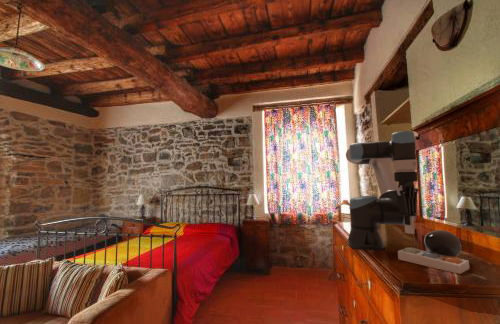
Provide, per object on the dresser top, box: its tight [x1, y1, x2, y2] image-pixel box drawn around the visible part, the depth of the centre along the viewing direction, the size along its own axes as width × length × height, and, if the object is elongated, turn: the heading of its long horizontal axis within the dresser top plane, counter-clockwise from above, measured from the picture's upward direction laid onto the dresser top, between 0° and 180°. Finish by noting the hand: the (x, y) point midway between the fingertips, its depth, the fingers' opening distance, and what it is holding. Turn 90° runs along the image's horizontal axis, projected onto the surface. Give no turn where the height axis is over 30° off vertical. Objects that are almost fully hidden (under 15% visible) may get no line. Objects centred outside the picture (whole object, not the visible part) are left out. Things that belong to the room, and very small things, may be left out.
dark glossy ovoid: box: [423, 229, 462, 257], centre depth 85 cm, size 10×10×15 cm
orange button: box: [444, 256, 461, 264], centre depth 75 cm, size 4×4×2 cm
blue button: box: [423, 250, 438, 259], centre depth 81 cm, size 4×4×2 cm
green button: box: [404, 246, 419, 254], centre depth 86 cm, size 4×4×2 cm
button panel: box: [397, 248, 470, 274], centre depth 81 cm, size 18×8×3 cm, turn 30°
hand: (409, 233), depth 87 cm, fingers closed
